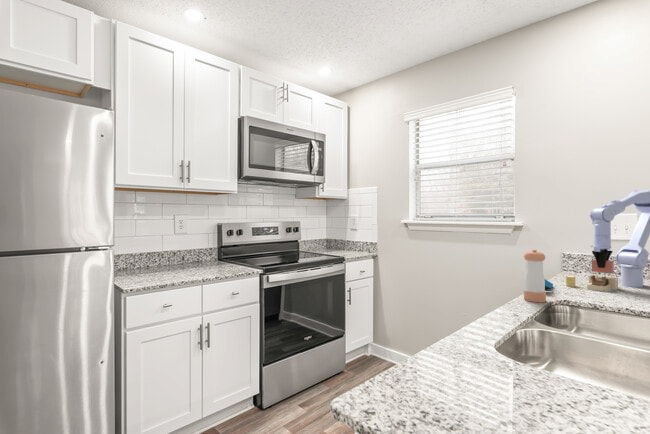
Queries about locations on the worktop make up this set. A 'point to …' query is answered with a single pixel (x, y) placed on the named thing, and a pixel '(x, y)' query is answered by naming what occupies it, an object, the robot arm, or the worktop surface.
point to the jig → (608, 288)
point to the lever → (548, 284)
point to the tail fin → (570, 281)
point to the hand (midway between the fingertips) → (602, 267)
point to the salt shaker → (534, 277)
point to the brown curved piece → (600, 281)
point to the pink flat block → (608, 268)
